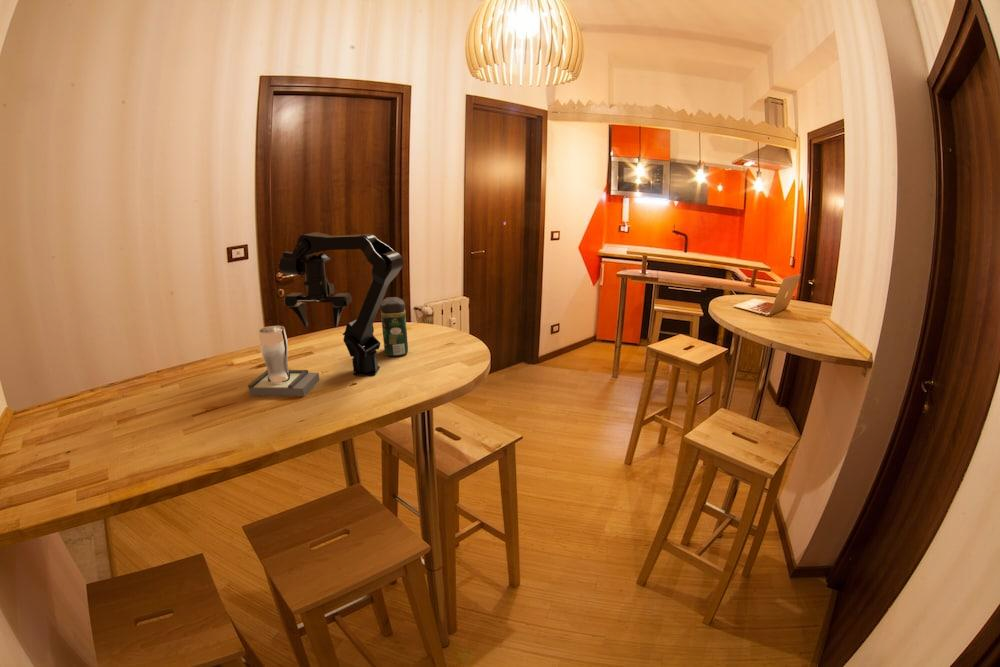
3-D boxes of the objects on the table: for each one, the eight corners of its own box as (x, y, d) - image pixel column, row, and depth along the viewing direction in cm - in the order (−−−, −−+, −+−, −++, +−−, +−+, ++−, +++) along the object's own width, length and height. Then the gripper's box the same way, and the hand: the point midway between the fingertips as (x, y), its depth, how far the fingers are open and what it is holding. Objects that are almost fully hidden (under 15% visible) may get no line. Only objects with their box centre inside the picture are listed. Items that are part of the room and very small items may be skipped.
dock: (319, 380, 147) (318, 370, 146) (304, 396, 137) (302, 385, 136) (269, 380, 148) (267, 369, 147) (250, 396, 137) (248, 385, 136)
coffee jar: (384, 348, 173) (379, 296, 167) (407, 346, 175) (403, 294, 169) (384, 358, 164) (379, 303, 158) (409, 356, 166) (405, 301, 160)
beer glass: (297, 376, 143) (290, 325, 139) (284, 386, 137) (276, 333, 132) (274, 374, 144) (266, 325, 140) (260, 384, 138) (252, 332, 133)
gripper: (355, 271, 156) (359, 319, 161) (295, 270, 157) (302, 319, 161) (343, 278, 145) (348, 330, 150) (279, 278, 146) (287, 329, 151)
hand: (321, 326), depth 153 cm, fingers open, 9 cm apart
